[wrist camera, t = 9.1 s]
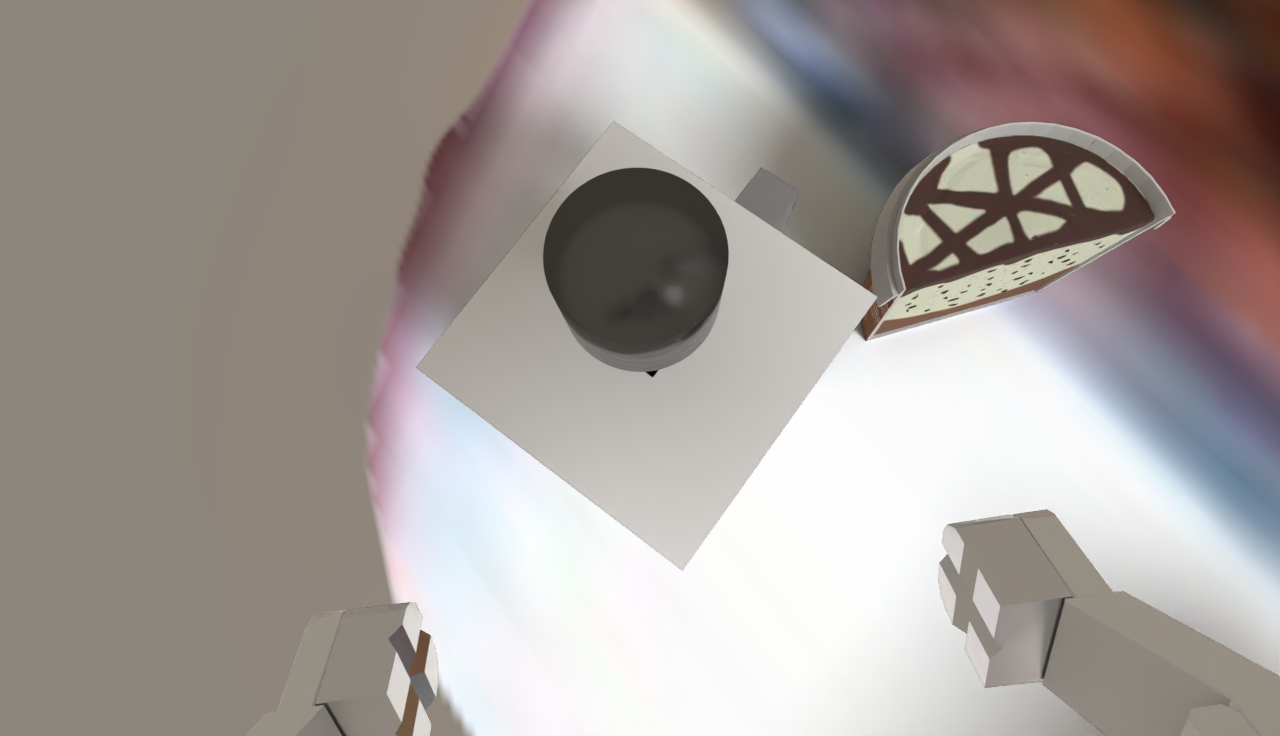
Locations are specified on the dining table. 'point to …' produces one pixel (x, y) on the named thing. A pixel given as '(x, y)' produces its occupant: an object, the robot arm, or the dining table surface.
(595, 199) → the plunger
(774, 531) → the dining table surface
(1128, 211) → the food container
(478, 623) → the dining table surface
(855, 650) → the dining table surface
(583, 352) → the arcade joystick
